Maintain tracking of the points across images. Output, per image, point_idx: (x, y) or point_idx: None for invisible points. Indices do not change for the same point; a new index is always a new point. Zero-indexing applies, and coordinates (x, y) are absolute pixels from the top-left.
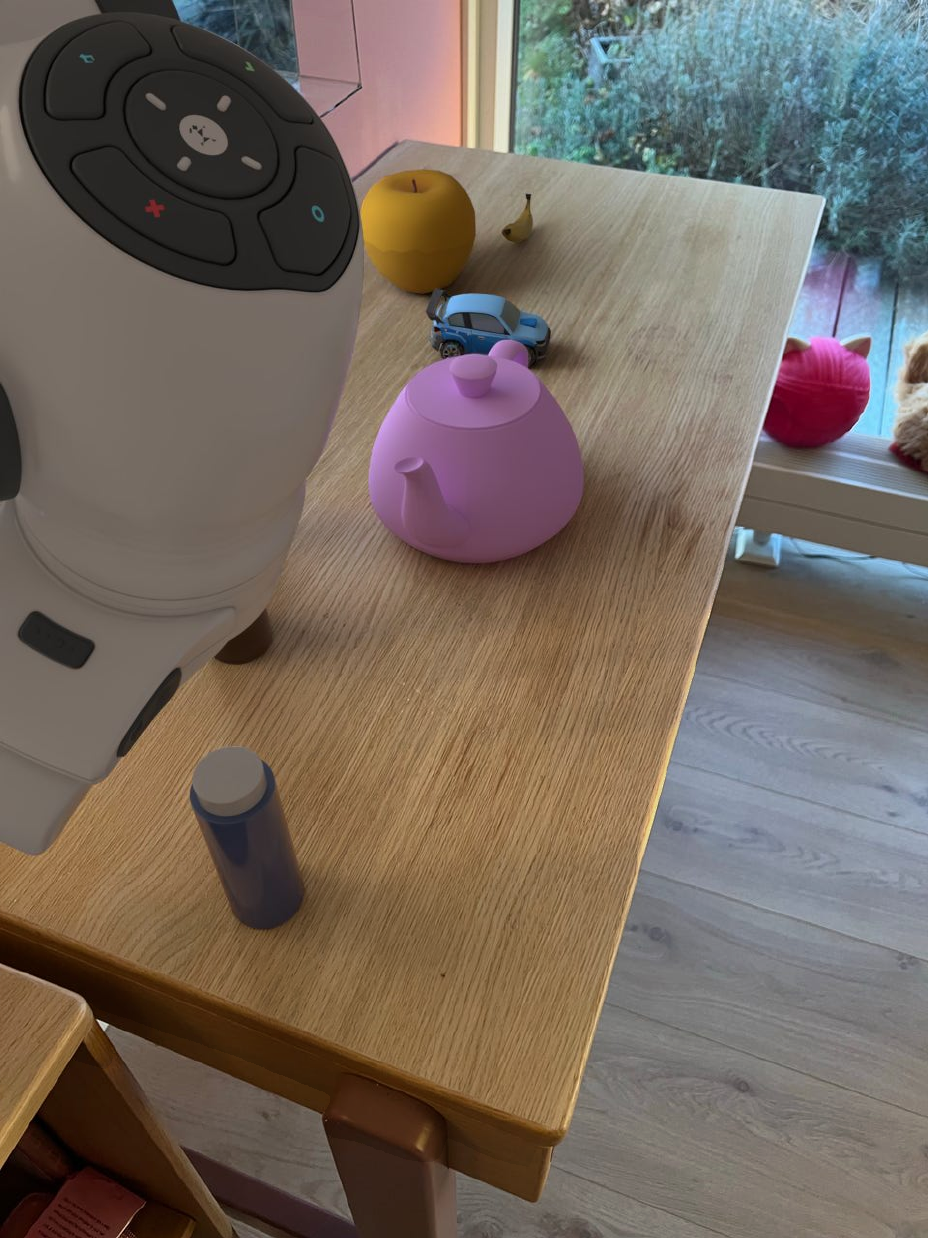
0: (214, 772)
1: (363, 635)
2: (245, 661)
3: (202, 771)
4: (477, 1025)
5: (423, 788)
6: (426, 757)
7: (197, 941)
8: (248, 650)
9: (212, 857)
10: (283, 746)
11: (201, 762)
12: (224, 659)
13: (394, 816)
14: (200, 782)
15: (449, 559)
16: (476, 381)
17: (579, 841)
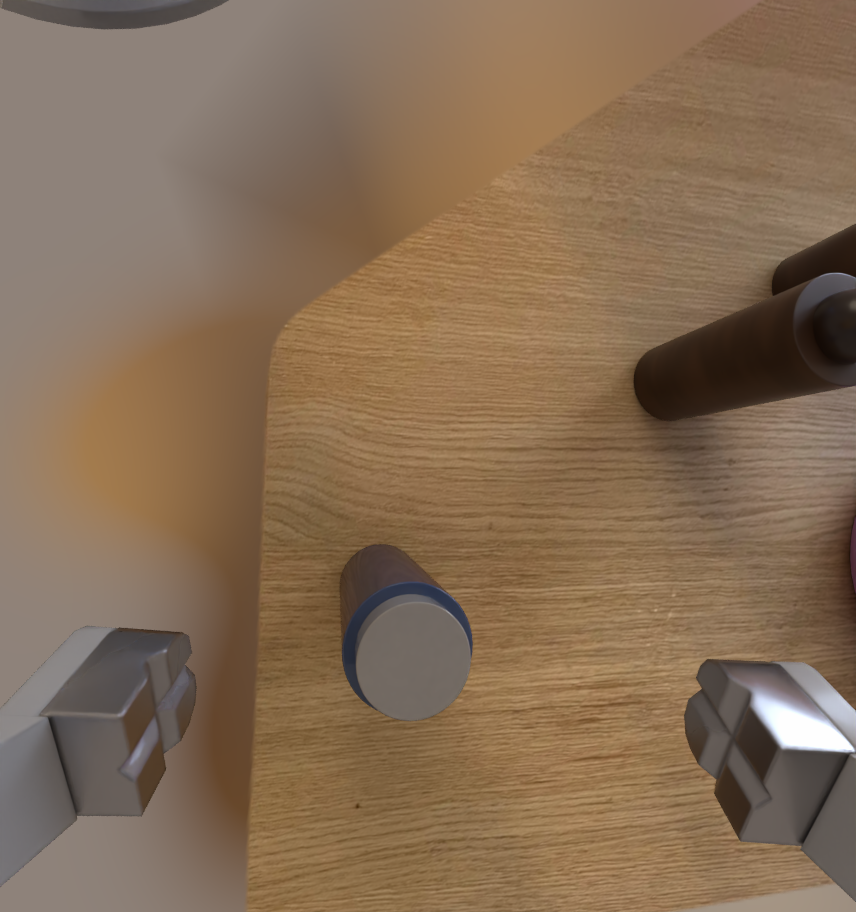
0: (409, 639)
1: (719, 518)
2: (643, 405)
3: (405, 618)
4: (317, 865)
5: (555, 681)
6: (592, 666)
7: (307, 540)
8: (657, 407)
9: (348, 589)
10: (553, 505)
11: (420, 606)
12: (637, 382)
13: (512, 667)
14: (384, 628)
15: (854, 570)
16: None
17: (549, 873)
